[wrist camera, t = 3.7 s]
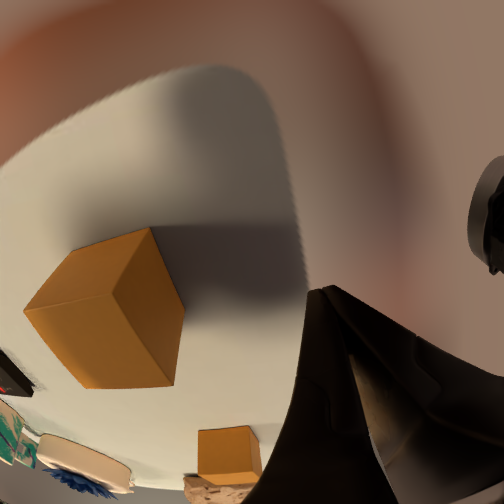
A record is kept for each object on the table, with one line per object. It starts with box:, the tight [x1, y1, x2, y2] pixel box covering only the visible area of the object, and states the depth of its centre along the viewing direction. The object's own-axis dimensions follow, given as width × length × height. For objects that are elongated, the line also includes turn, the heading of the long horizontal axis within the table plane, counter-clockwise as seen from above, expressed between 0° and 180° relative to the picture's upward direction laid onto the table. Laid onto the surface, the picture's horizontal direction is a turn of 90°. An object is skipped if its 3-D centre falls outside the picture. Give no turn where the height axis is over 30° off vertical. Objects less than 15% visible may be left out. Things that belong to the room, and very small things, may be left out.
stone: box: [183, 477, 257, 504], centre depth 27 cm, size 9×11×5 cm
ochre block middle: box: [198, 426, 262, 485], centre depth 18 cm, size 4×4×4 cm
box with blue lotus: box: [36, 434, 135, 500], centre depth 24 cm, size 7×16×20 cm
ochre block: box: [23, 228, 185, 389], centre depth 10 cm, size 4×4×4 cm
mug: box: [0, 400, 39, 469], centre depth 18 cm, size 8×12×8 cm
